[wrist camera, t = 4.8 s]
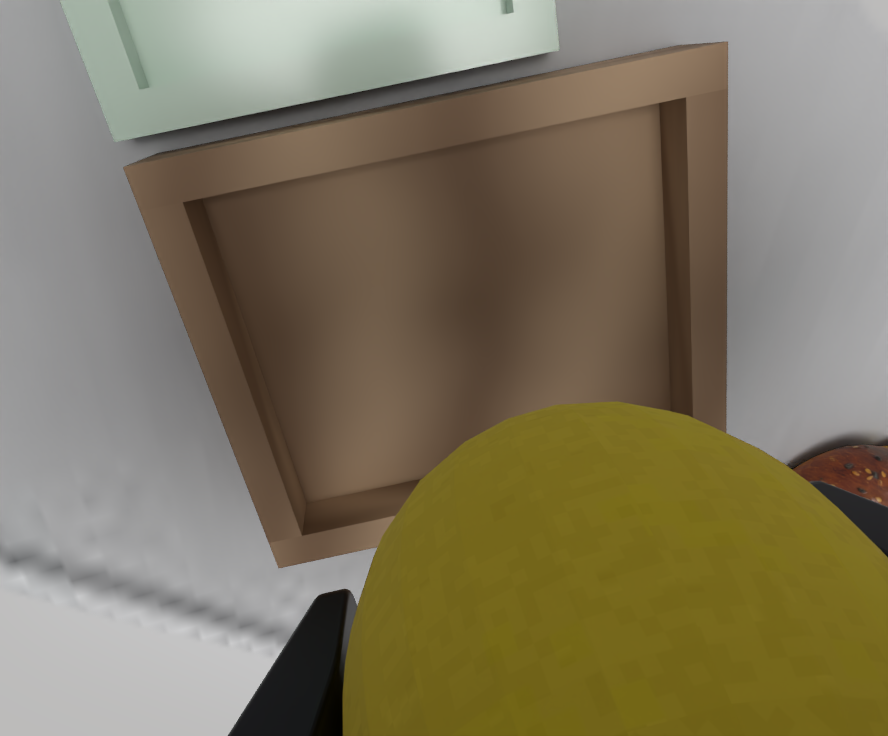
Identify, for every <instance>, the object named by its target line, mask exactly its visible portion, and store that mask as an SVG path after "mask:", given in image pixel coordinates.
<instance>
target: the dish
mask: <svg viewBox="0 0 888 736" xmlns="http://www.w3.org/2000/svg"><path fill="white" fill-rule="evenodd" d="M60 3H61V6H62V8H63V11H64V13H65V16H66V18H67V21H68V24H69V26H70V29H71V31H72V34H73V36H74V39H75V42H76V44H77V47H78V49H79V52H80V55H81V57H82V60H83V62H84V65H85V67H86V70H87V73H88V75H89V78H90V80H91V83H92V86H93V88H94V91H95V93H96V96H97V98H98V101H99V104H100V106H101V109H102V111H103V114H104V116H105V119H106V122H107V124H108V127H109V129H110V132H111V135H112V137H113V140H114V142H119V141H123V140H128V139H133V138H138V137H143V136H148V135H152V134H157V133H162V132H167V131H172V130H177V129H181V128H186V127H191V126H196V125H201V124H205V123H210V122H215V121H220V120H225V119H230V118H234V117H239V116H244V115H249V114H254V113H259V112H263V111H268V110H273V109H278V108H283V107H288V106H292V105H297V104H302V103H307V102H312V101H317V100H321V99H326V98H331V97H336V96H341V95H346V94H350V93H355V92H360V91H365V90H370V89H375V88H379V87H384V86H389V85H394V84H399V83H403V82H408V81H413V80H418V79H423V78H428V77H432V76H437V75H442V74H447V73H452V72H457V71H461V70H466V69H471V68H476V67H481V66H486V65H490V64H495V63H500V62H505V61H510V60H515V59H519V58H524V57H529V56H534V55H539V54H544V53H548V52H553V51H558V50H560V48H559V38H558V28H557V17H556V7H555V0H60Z"/></svg>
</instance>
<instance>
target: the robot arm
mask: <svg viewBox="0 0 888 736" xmlns="http://www.w3.org/2000/svg"><path fill="white" fill-rule="evenodd" d="M809 483H811V484H812V485H813V486H814V487H815V488H816V489H817V490H819V491H820V492H821V493H822V494H823V495H824V496H825V497H826V498H827V499H829V500H830V501H831V502H832V503H833V504H834V505H835V506H836V507H838V508H839V509H840V510H841V511H842V512H843V513H844V514H845V515H846V516H847V517H848V518H849V519H850V520H851V521H852V522H853V523H854V524H855V525H856V526H857V527H858V528H859V529H860V530H861V531H862V532H863V533H864V534H865V535H866V536H867V537H868V538H869V539H870V540H871V541H872V542H873V543H874V544H875V545H876V546H877V547H878V548H879V549H880V550H881V551H882V552H883V553H884V554H885V555H886V556H887V557H888V507H887V506H884V505H882V504H879V503H877V502H874V501H871V500H869V499H866V498H864V497H861V496H859V495H856V494H853V493H851V492H848V491H846V490H843V489H841V488H838V487H835V486H833V485H830V484H828V483H825V482H822V481H810V482H809ZM356 610H357V604H356V601H355V599H354V596H353V594H352V593H351V591H350V590H347V589H341V590H337V591H333V592H328V593H324V594H321V595H319V596H318V597H317V598H316V599H315V600H314V601H313V603H312V605H311V606H310V608H309V609H308V611H307V612H306V614H305V616H304V617H303V619H302V620H301V622H300V623H299V625H298V626H297V628H296V630H295V631H294V633H293V634H292V636H291V637H290V639H289V641H288V642H287V644H286V645H285V647H284V648H283V650H282V652H281V653H280V655H279V656H278V658H277V659H276V661H275V663H274V664H273V666H272V667H271V669H270V671H269V672H268V674H267V675H266V677H265V678H264V680H263V681H262V683H261V684H260V686H259V688H258V689H257V691H256V692H255V694H254V696H253V697H252V699H251V700H250V702H249V703H248V705H247V706H246V708H245V710H244V711H243V713H242V714H241V716H240V717H239V719H238V721H237V722H236V724H235V725H234V727H233V729H232V730H231V732H230V733H229V735H228V736H343V684H344V672H345V660H346V655H347V649H348V643H349V638H350V632H351V628H352V624H353V621H354V617H355V614H356Z"/></svg>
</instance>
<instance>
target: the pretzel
mask: <svg viewBox="0 0 888 736" xmlns="http://www.w3.org/2000/svg"><path fill="white" fill-rule="evenodd" d="M793 471H794V472H796V473H797V474H799V475H800V476H801V477H803V478H804V479H805V480H807V481H808V482H810V481H822V482H825V483H828V484H830V485H833V486H835V487H838V488H841V489H843V490H846V491H848V492H851V493H853V494H856V495H859V496H861V497H864V498H866V499H869V500H871V501H874V502H877V503H879V504H882V505H884V506H887V507H888V446H874V445H855V446H850V445H847V446H845V447H840V448H837V449H834V450H830V451H828V452H825V453H822V454H820V455H817V456H815V457H813V458H811V459H809V460H808V461H806V462H804V463H802V464H800V465H799V466H797V467H796V468H794V469H793Z"/></svg>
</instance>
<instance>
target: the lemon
mask: <svg viewBox="0 0 888 736" xmlns="http://www.w3.org/2000/svg"><path fill="white" fill-rule="evenodd" d="M343 736H888V557H887V556H886V555H885V554H884V553H883V552H882V551H881V550H880V549H879V548H878V547H877V546H876V545H875V544H874V543H873V542H872V541H871V540H870V539H869V538H868V537H867V536H866V535H865V534H864V533H863V532H862V531H861V530H860V529H859V528H858V527H857V526H856V525H855V524H854V523H853V522H852V521H851V520H850V519H849V518H848V517H847V516H846V515H845V514H844V513H843V512H842V511H841V510H840V509H839V508H838V507H836V506H835V505H834V504H833V503H832V502H831V501H830V500H829V499H827V498H826V497H825V496H824V495H823V494H822V493H821V492H820V491H819V490H817V489H816V488H815V487H814V486H813V485H812V484H811V483H809V482H808V481H807V480H805V479H804V478H803V477H801V476H800V475H799V474H797V473H796V472H794V471H793V470H792V469H790V468H789V467H788V466H786V465H785V464H783V463H782V462H780V461H778V460H777V459H775V458H773V457H772V456H770V455H768V454H767V453H765V452H763V451H762V450H760V449H758V448H756V447H754V446H752V445H750V444H748V443H746V442H744V441H742V440H739V439H737V438H735V437H733V436H731V435H729V434H727V433H725V432H723V431H720V430H718V429H716V428H714V427H712V426H710V425H708V424H706V423H703V422H701V421H699V420H697V419H694V418H692V417H690V416H688V415H684V414H680V413H675V412H671V411H667V410H662V409H656V408H651V407H645V406H640V405H634V404H629V403H623V402H618V401H616V402H596V403H577V404H559V405H553V406H550V407H546V408H543V409H539V410H536V411H532V412H529V413H525V414H522V415H518V416H515V417H511V418H508V419H506V420H504V421H502V422H501V423H499V424H497V425H495V426H493V427H491V428H489V429H488V430H486V431H484V432H482V433H480V434H478V435H476V436H475V437H473V438H471V439H469V440H467V441H465V442H464V443H463V444H462V445H460V446H459V447H458V448H457V449H456V450H455V451H454V452H452V453H451V454H450V455H449V456H448V457H447V458H445V459H444V460H443V461H442V462H441V463H440V464H439V465H437V466H436V467H435V468H434V469H433V470H432V471H431V472H429V473H428V474H427V475H426V476H425V477H424V478H422V479H421V480H420V481H419V483H418V484H417V486H416V487H415V489H414V490H413V492H412V493H411V495H410V496H409V497H408V499H407V500H406V502H405V503H404V505H403V506H402V508H401V509H400V511H399V512H398V514H397V515H396V516H395V518H394V519H393V521H392V522H391V524H390V525H389V527H388V528H387V530H386V532H385V533H384V535H383V536H382V538H381V541H380V543H379V545H378V548H377V550H376V553H375V555H374V557H373V561H372V564H371V567H370V570H369V573H368V576H367V579H366V582H365V585H364V588H363V591H362V594H361V597H360V600H359V603H358V606H357V610H356V614H355V617H354V621H353V624H352V628H351V632H350V638H349V643H348V649H347V655H346V660H345V672H344V684H343Z"/></svg>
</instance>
